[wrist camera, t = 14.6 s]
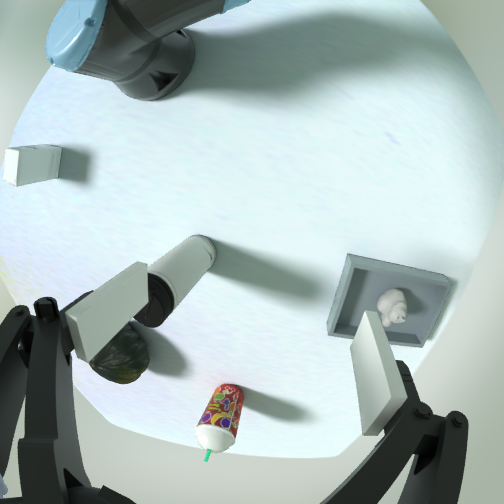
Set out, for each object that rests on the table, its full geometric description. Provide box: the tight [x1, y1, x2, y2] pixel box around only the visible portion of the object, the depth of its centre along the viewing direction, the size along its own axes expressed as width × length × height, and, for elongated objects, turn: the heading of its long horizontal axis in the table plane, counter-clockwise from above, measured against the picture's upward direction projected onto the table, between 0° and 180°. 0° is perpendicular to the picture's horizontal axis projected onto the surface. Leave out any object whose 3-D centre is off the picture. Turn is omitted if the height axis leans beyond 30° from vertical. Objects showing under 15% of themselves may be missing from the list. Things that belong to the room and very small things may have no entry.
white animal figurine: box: [377, 288, 407, 327], centre depth 39 cm, size 5×7×8 cm
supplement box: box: [4, 144, 62, 187], centre depth 41 cm, size 7×7×13 cm
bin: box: [327, 254, 452, 348], centre depth 41 cm, size 13×19×4 cm
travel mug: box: [133, 235, 216, 328], centre depth 37 cm, size 6×7×20 cm
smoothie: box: [194, 384, 244, 462], centre depth 48 cm, size 8×8×20 cm
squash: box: [89, 323, 149, 384], centre depth 52 cm, size 14×15×15 cm
